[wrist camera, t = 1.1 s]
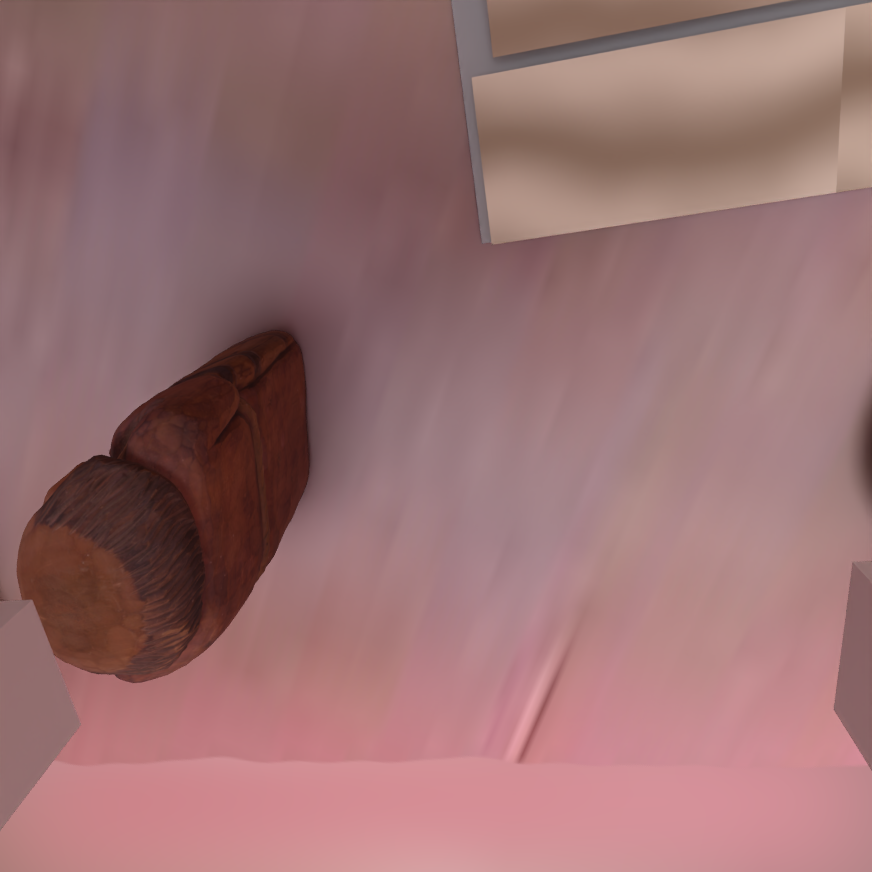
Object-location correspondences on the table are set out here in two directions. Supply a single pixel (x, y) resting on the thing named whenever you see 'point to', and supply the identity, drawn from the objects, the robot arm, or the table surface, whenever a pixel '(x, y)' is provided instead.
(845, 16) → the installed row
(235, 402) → the wooden figurine
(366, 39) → the table surface
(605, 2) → the plank
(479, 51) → the tray
